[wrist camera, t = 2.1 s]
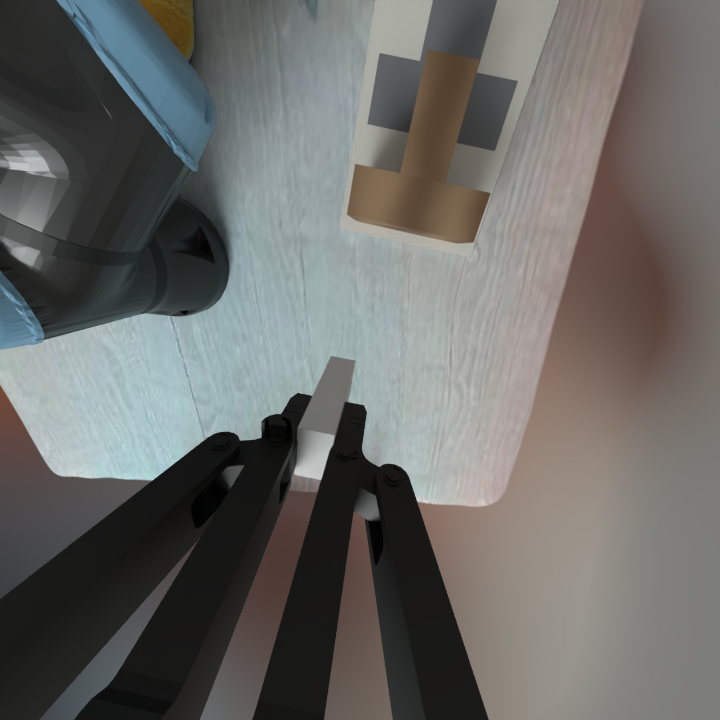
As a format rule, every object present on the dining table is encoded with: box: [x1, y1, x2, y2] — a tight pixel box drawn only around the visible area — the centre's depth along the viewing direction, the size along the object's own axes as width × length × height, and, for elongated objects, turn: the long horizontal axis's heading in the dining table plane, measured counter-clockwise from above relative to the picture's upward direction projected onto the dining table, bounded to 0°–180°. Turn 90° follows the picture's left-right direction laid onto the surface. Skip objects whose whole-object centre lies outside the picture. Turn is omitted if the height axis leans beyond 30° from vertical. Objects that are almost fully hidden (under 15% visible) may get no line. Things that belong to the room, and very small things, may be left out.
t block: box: [347, 49, 491, 244], centre depth 26 cm, size 12×12×8 cm
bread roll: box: [139, 0, 194, 62], centre depth 26 cm, size 8×9×4 cm
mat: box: [340, 0, 559, 257], centre depth 28 cm, size 16×24×1 cm, turn 169°
